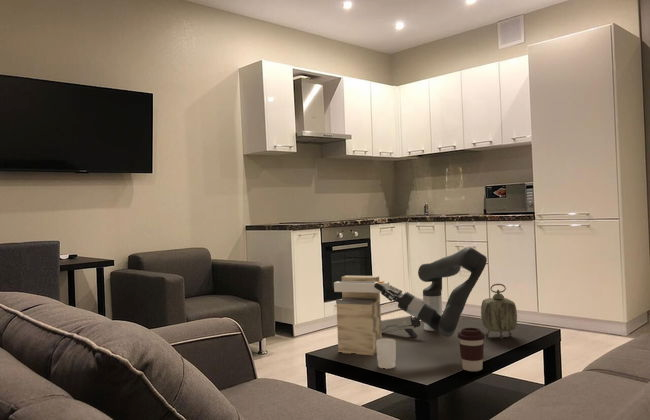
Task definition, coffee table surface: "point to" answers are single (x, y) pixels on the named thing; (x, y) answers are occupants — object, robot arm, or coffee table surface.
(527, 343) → the coffee table surface
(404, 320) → the gun
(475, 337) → the coffee cup
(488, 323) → the tabletop clock
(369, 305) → the step shelf
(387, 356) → the white cup
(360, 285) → the power strip
